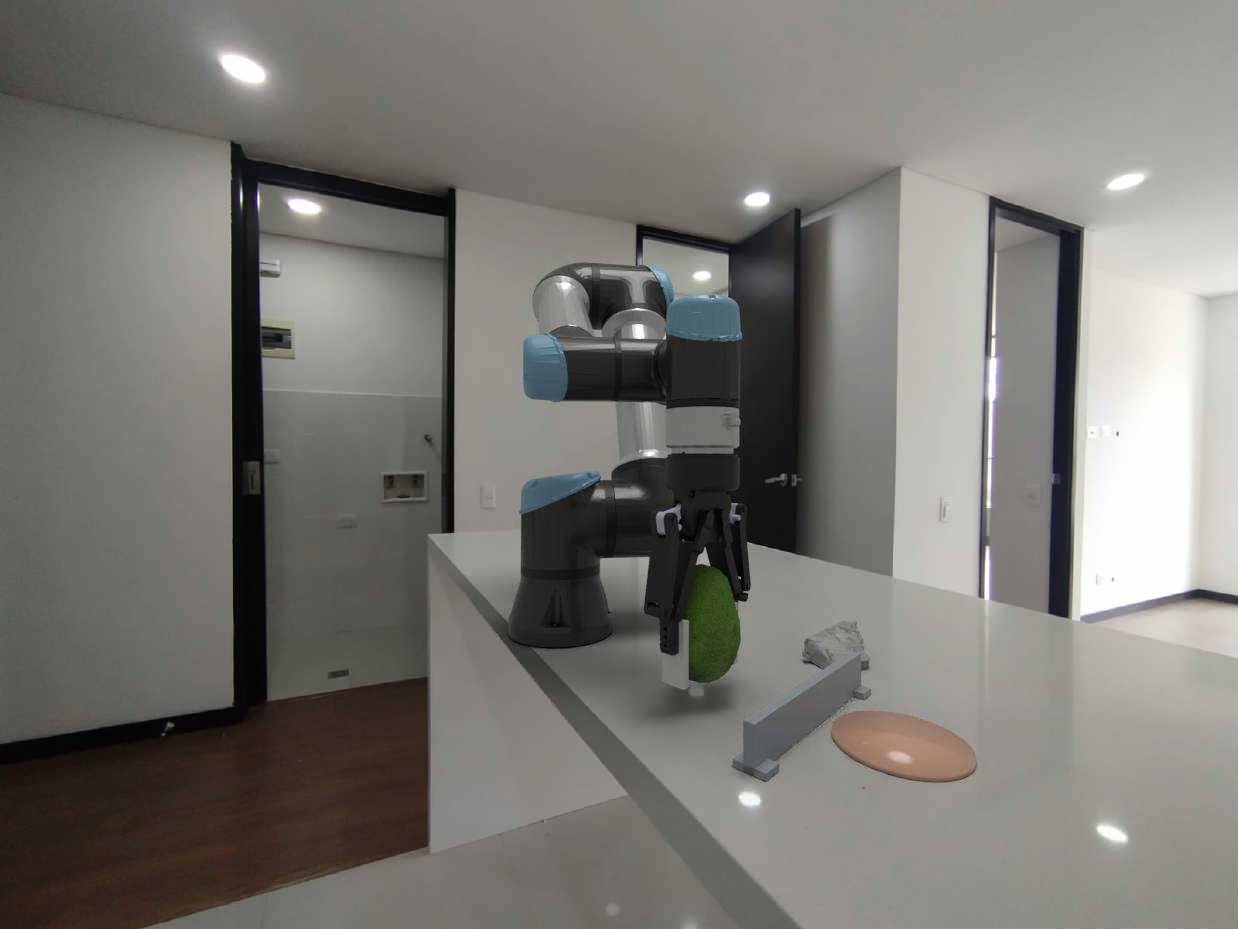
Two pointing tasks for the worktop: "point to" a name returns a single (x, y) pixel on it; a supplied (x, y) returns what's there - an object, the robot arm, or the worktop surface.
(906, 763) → the saucer
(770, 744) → the acrylic wall
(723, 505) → the robot arm
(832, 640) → the stone
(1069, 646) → the worktop surface
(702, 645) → the fruit
